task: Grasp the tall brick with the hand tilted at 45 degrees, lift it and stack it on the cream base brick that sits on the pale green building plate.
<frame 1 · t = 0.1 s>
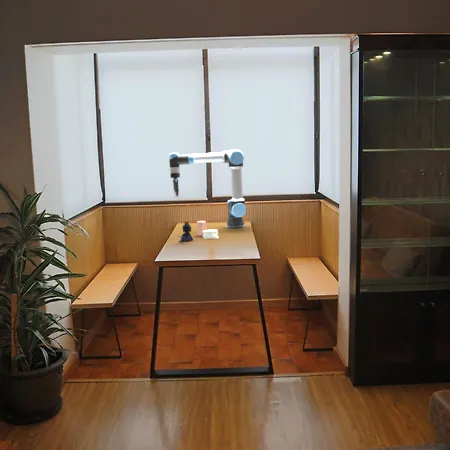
hand: (176, 199, 428), 28 cm above the table, tool pointing down, fingers open, 13 cm apart
base brick: (210, 237, 404), point 1 cm above the table, touching plate
figurine: (187, 241, 397), on the table
plate: (210, 238, 404), on the table
tall brick: (202, 236, 414), on the table
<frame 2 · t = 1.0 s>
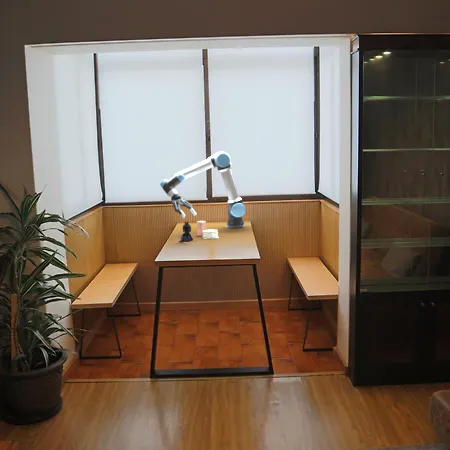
hand: (190, 216, 418), 16 cm above the table, tool tilted 45°, fingers open, 13 cm apart
nothing on the table moved.
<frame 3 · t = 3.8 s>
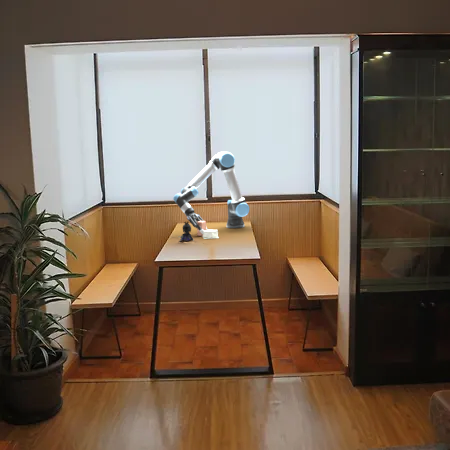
hand: (205, 232, 411), 4 cm above the table, tool tilted 45°, fingers closed on tall brick, 5 cm apart
tall brick: (202, 236, 414), on the table, touching gripper
everything else where it was.
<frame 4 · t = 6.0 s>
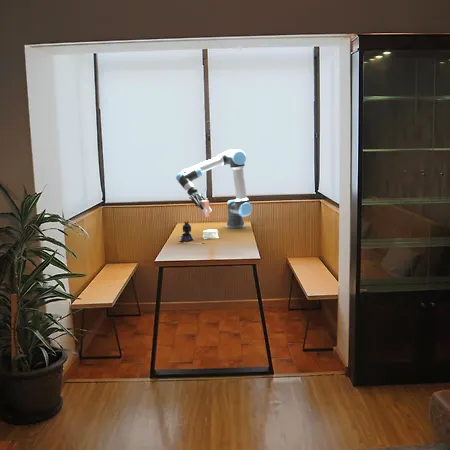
hand: (208, 211, 402), 20 cm above the table, tool tilted 45°, fingers closed on tall brick, 5 cm apart
tall brick: (204, 216, 405), point 16 cm above the table, touching gripper
everything else where it was.
when the fingers open (11 cm above the table, at t = 8.3 s): tall brick stays where it is, resting on base brick.
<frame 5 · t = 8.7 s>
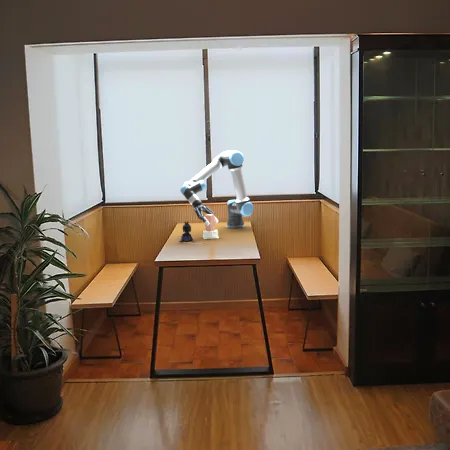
hand: (213, 223, 401), 12 cm above the table, tool tilted 45°, fingers open, 10 cm apart
base brick: (210, 237, 404), point 1 cm above the table, touching plate, tall brick
tall brick: (210, 230, 403), point 6 cm above the table, touching base brick
everything else where it was.
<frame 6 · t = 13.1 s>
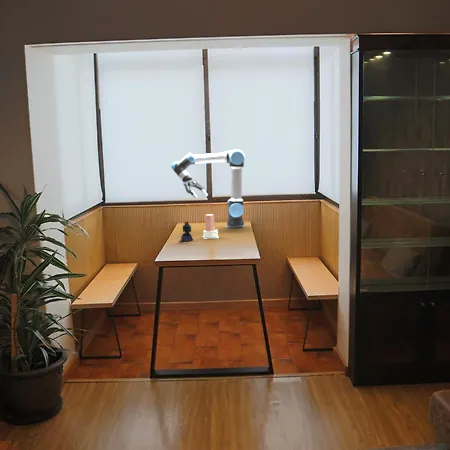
hand: (201, 196, 421), 30 cm above the table, tool tilted 45°, fingers open, 13 cm apart
nothing on the table moved.
at the end: tall brick 0.1 cm off-centre on the base brick, point 5.0 cm above the base brick's base; tall brick tilted 0°; the gripper is holding nothing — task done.
